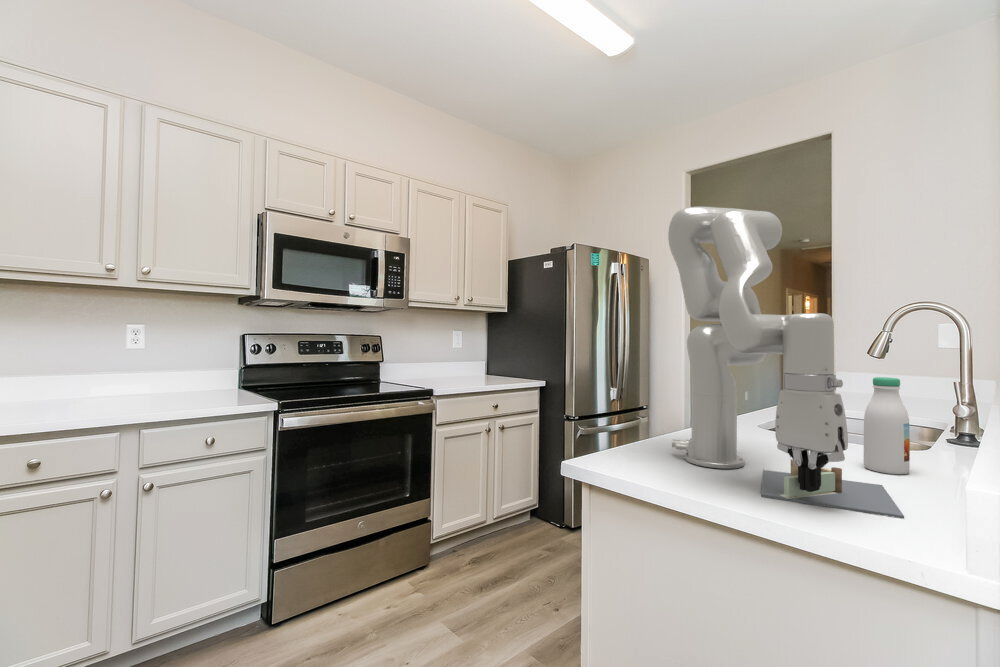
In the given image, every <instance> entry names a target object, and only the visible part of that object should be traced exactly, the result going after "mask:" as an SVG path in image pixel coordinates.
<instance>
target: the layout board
mask: <svg viewBox="0 0 1000 667" xmlns="http://www.w3.org/2000/svg"><path fill="white" fill-rule="evenodd" d="M786 476H792V475H791V472H782V471H776V470H769V469H763V470H762V480H761V481H762V482H761V492H760V496H761V497H762V498H767V499H774V500H780V501H788V502H794V503H800V504H801V503H802V504H808V505H813V506H819V507H820V506H821V507H827V508H833V509H839V508H840V509H839V510H847V511H853V512H858V513H866V514H871V513H873V514H872V515H878V514H880V515H879V516H884V515H888V516H887V517H891V516H894V517H893V518H897V517H899V518H900V519H905V515H904V514H903V512H902V511H901V510H900V508H899V506H898V505H897V504H896V502H895V501H894V500H893V498H892V497H891V496H890V494H889V492H888V491H887V490H886V489H885V487H884V486H883V484H877V483H869V482H861V481H854V480H853V481H852V480H845V479H842V493H836V492H833V491H828V492H820V493H813V494H805V495H797V496H790V497H789V496H786V495H784V477H786Z"/></svg>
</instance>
